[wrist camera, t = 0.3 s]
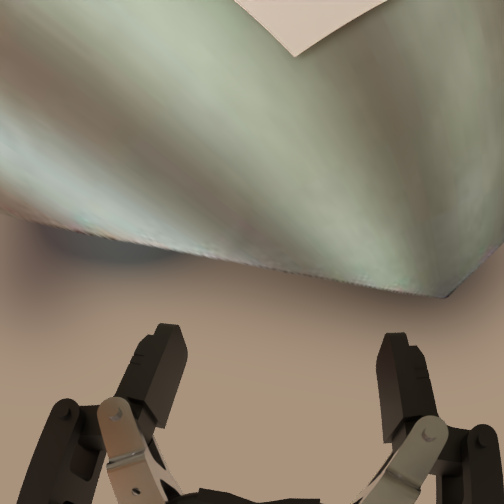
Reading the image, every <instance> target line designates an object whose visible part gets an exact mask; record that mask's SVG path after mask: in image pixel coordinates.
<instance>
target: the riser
mask: <svg viewBox="0 0 504 504" xmlns="http://www.w3.org/2000/svg"><path fill="white" fill-rule="evenodd" d="M234 1H235V2H236V3H238V4H239V5H240V6H241V7H242V8H243V9H245V10H246V11H247V12H248V13H249V14H250V15H251V16H252V17H254V18H255V19H256V20H257V21H258V22H259V23H260V24H261V25H262V26H263V27H264V28H265V29H267V30H268V31H269V32H270V33H271V34H272V35H273V36H274V37H275V38H276V39H277V40H278V41H279V42H280V43H281V44H282V45H283V46H284V47H285V48H286V49H287V50H288V51H289V52H290V53H291V54H292V55H293V56H294V57H296V56H297V55H299V54H300V53H302V52H303V51H305V50H306V49H308V48H309V47H311V46H312V45H314V44H315V43H317V42H318V41H320V40H321V39H323V38H324V37H326V36H327V35H329V34H330V33H332V32H333V31H335V30H337V29H338V28H340V27H341V26H343V25H345V24H346V23H348V22H350V21H351V20H353V19H355V18H356V17H358V16H360V15H362V14H363V13H365V12H367V11H369V10H370V9H372V8H374V7H376V6H377V5H379V4H381V3H383V2H385V1H387V0H234Z"/></svg>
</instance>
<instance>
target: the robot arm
mask: <svg viewBox="0 0 504 504" xmlns="http://www.w3.org/2000/svg"><path fill="white" fill-rule="evenodd" d="M187 356H188V352H187V347H186V344H185V341H184V338H183V336H182V332H181V329H180V327H179V325H174V324H164V323H160V324H159V325H158V326H157V328H156V331H155V333H154V335H147V336H146V337H145V338H144V339H143V340H142V341H141V342H140V343H139V344H138V346H137V348H136V350H135V352H134V356H133V357H132V359H131V361H130V364H129V365H128V367H127V369H126V372H125V374H124V376H123V378H122V380H121V383H120V385H119V387H118V389H117V391H116V394H115V395H114V396H113V397H111V398H108V399H106V400H104V401H103V402H102V403H101V404H100V405H94V406H93V405H92V406H79V405H78V404H77V403H76V402H75V401H74V400H72V399H69V398H66V399H62V400H60V401H58V402H57V403H56V404H55V405H54V406H53V408H52V410H51V413H50V415H49V417H48V419H47V422H46V424H45V426H44V429H43V431H42V434H41V436H40V439H39V441H38V444H37V446H36V449H35V451H34V454H33V457H32V459H31V462H30V465H29V467H28V470H27V473H26V476H25V479H24V482H23V485H22V488H21V491H20V494H19V497H18V500H17V504H92V500H93V496H94V493H95V489H96V486H97V482H98V478H99V475H100V472H101V469H102V465H103V462H104V458H105V456H106V452H107V453H108V457H109V463H107V466H106V468H107V473H108V476H109V479H110V482H111V484H112V487H113V490H114V493H115V495H116V498H117V501H118V504H321V503H320V499H292V498H289V499H283V500H278V501H271V502H264V503H255V502H252V501H249V500H247V499H244V498H241V497H238V496H236V495H233V494H230V493H227V492H220V491H214V490H209V489H203V488H199V492H198V493H197V492H196V493H189V494H185V495H183V493H182V491H181V489H180V487H179V485H178V484H177V482H176V480H175V479H174V477H173V476H172V474H171V473H170V471H169V469H168V467H167V465H166V462H165V460H164V458H163V456H162V454H161V451H160V449H159V447H158V444H157V442H156V440H155V437H154V435H153V433H154V430H155V427H159V428H165V426H166V423H167V419H168V416H169V413H170V410H171V407H172V404H173V401H174V398H175V395H176V392H177V389H178V386H179V383H180V380H181V377H182V374H183V371H184V368H185V365H186V362H187ZM376 373H377V381H378V389H379V398H380V406H381V417H382V429H383V441H384V443H392V449H393V451H392V452H391V453H390V455H389V456H388V457H387V459H386V460H385V462H384V463H383V465H382V466H381V467H380V469H379V470H378V471H377V473H376V474H375V475H374V477H373V478H372V479H371V480H370V482H369V483H368V484H367V486H366V487H365V488H364V489H363V490H362V491H361V492H360V493H359V495H358V496H357V497H356V498H355V499H354V500H353V501H352V502H351V503H350V504H414V503H415V501H416V500H417V498H418V496H419V495H420V492H421V489H420V488H421V485H422V483H423V482H424V480H425V479H426V477H427V475H428V474H432V475H436V499H437V500H436V501H437V502H436V504H504V485H503V474H502V465H501V457H500V450H499V443H498V437H497V434H496V432H495V430H494V429H493V428H492V427H491V426H489V425H486V424H480V425H477V426H475V427H474V428H473V429H472V430H466V429H459V428H453V427H450V426H448V425H446V424H445V422H444V421H443V420H442V419H441V418H439V416H438V413H437V409H436V404H435V399H434V395H433V390H432V386H431V381H430V379H429V373H428V370H427V365H426V361H425V357H424V355H423V354H422V352H421V351H420V350H419V348H418V347H417V346H409V344H408V340H407V336H406V334H405V333H404V332H402V333H386V334H385V336H384V339H383V342H382V345H381V348H380V351H379V353H378V356H377V361H376Z"/></svg>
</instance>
